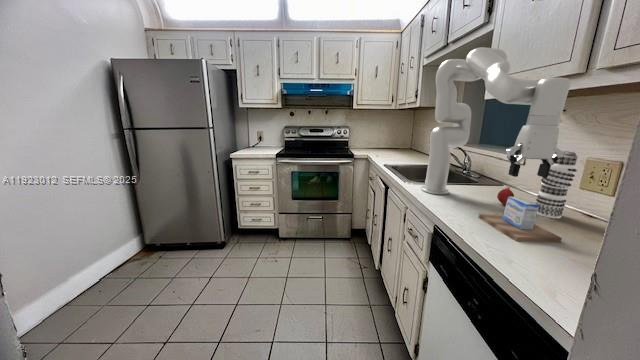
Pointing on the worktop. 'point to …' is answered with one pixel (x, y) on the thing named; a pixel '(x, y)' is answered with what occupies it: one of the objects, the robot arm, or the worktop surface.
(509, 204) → the medicine box
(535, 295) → the worktop surface
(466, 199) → the worktop surface
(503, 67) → the robot arm
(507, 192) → the red oval piece
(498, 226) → the cutting board
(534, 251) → the worktop surface
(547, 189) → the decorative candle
